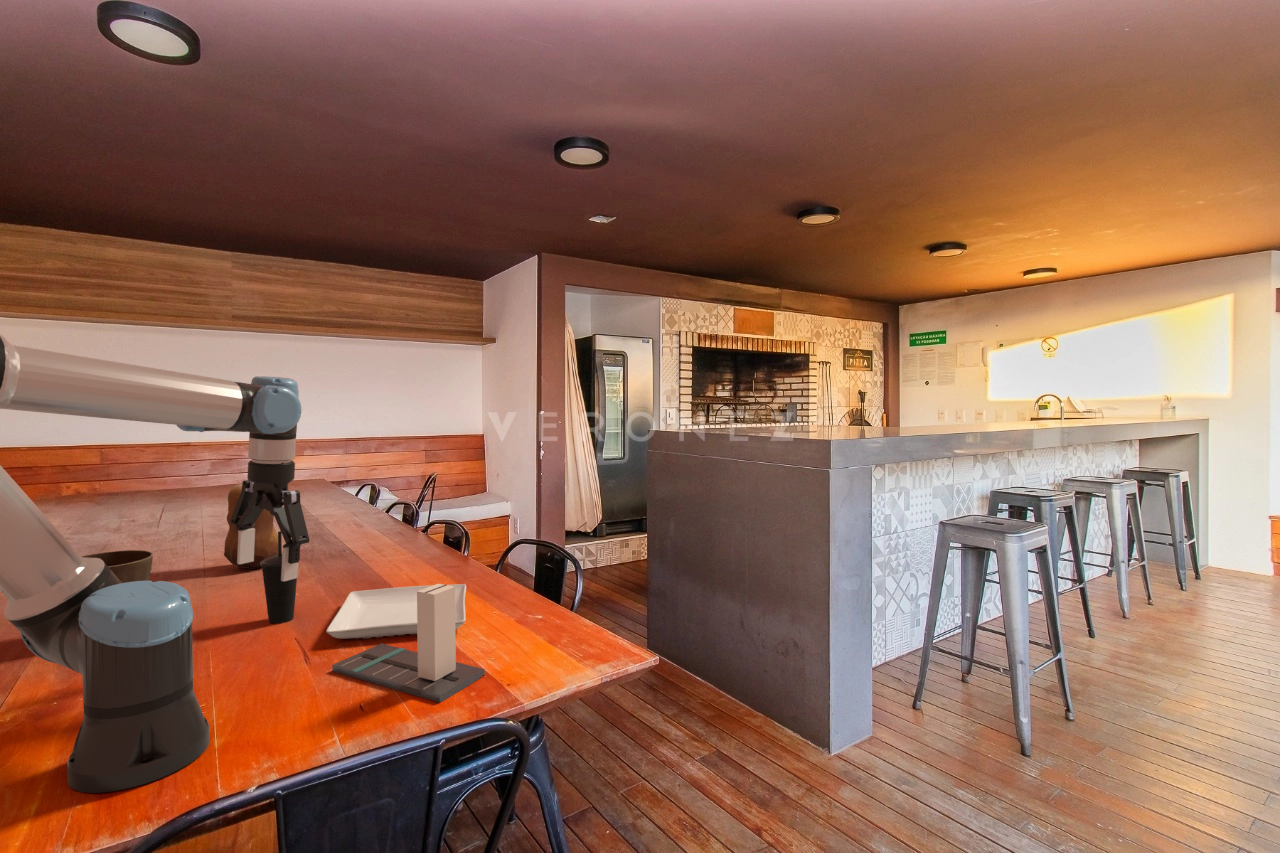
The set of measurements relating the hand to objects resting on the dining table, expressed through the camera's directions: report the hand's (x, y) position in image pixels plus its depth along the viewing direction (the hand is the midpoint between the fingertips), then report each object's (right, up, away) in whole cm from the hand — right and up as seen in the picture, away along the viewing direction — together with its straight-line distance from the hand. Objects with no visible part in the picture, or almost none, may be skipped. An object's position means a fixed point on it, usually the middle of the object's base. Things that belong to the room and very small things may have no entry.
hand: (266, 570), depth 115 cm
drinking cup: (-10, -16, +22) cm, 29 cm away
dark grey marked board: (+29, -17, -5) cm, 34 cm away
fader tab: (+35, -16, -8) cm, 39 cm away
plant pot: (-41, -17, +13) cm, 46 cm away
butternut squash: (-43, -14, +64) cm, 79 cm away
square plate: (+17, -17, +23) cm, 33 cm away
